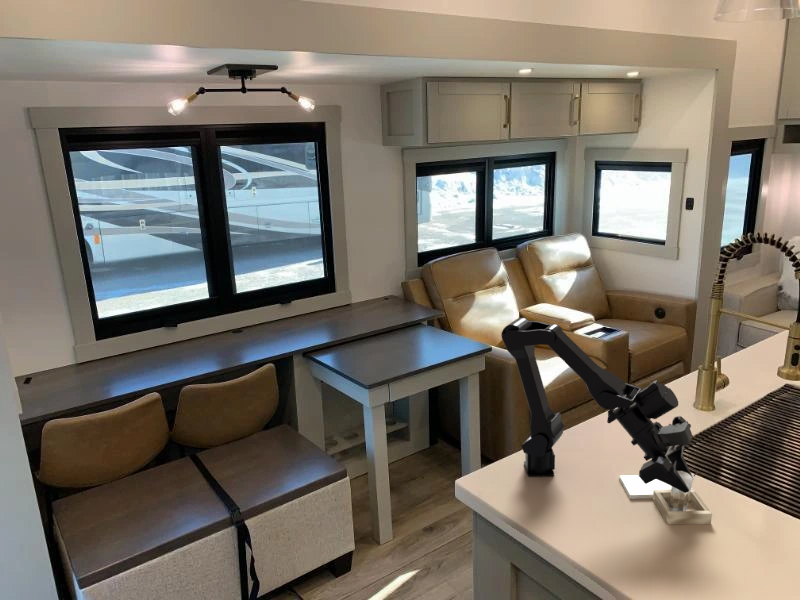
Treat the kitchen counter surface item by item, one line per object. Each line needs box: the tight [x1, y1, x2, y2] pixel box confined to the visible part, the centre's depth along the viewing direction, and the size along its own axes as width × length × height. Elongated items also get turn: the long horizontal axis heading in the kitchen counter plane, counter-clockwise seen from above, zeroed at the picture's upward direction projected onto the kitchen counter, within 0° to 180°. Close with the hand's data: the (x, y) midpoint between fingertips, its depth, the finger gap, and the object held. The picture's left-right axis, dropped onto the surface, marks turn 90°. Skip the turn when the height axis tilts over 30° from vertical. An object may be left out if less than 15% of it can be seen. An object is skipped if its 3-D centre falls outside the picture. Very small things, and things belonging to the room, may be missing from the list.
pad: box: [618, 474, 670, 500], centre depth 143 cm, size 11×8×1 cm
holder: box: [652, 488, 713, 525], centre depth 134 cm, size 9×9×2 cm
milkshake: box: [669, 470, 699, 511], centre depth 133 cm, size 4×5×10 cm
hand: (689, 486), depth 132 cm, fingers closed on milkshake, 4 cm apart
